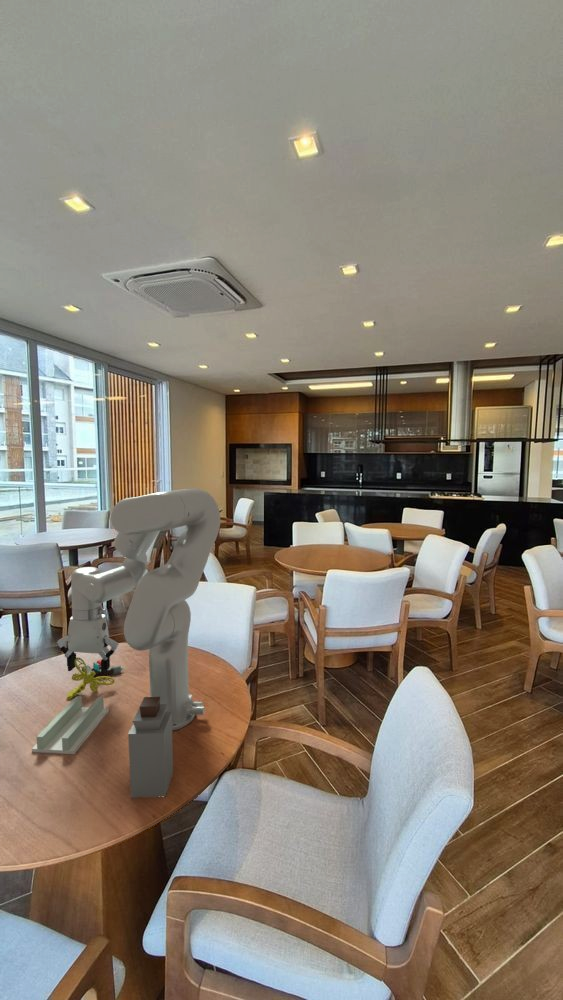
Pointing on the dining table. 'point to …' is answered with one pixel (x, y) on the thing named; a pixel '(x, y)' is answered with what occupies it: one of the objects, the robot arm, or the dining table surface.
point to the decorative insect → (86, 677)
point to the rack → (71, 727)
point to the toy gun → (98, 669)
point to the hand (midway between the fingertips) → (88, 669)
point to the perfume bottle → (151, 749)
